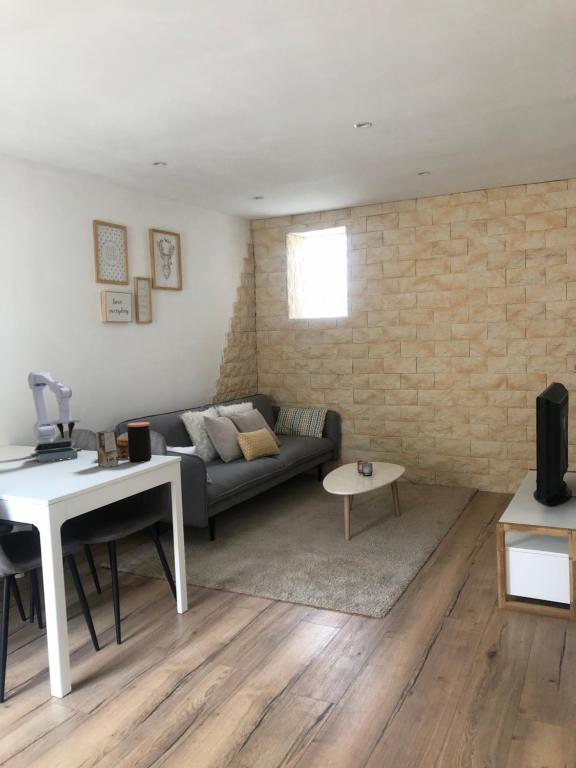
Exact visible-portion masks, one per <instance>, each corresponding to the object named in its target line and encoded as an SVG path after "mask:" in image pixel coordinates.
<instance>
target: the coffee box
mask: <svg viewBox="0 0 576 768" xmlns="http://www.w3.org/2000/svg"><path fill="white" fill-rule="evenodd" d="M117 433H118V432H117V431H116V430H108V429H107V430H100V431H96V432H95V438H96V441H95V442H96V452H97V453H96V454H97V465H100V466H99V467H102V466H104V468H111V467H110V466H112V467H117V466H116V465H118V466H119V459H118V450H117V438H118V436H117Z"/></svg>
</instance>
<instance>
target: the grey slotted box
mask: <svg viewBox="0 0 576 768" xmlns="http://www.w3.org/2000/svg"><path fill="white" fill-rule="evenodd" d="M79 452H82V448H80V447H77V448H74V447H73V446H72V447H67V448H58V449H51V450H42V451H34V452H33V453H30V454H29V455H30V457H31V458H35V460H36V459H37V460H38V461H39V463H40V462H43V463H47V462H46V461H51V462H54V461H53V460H59V461H61V460H60V459H67V460H69V459H68V458H75V459H78V458H77V457H78V453H79ZM37 460H36V461H37ZM38 461H37V462H38Z"/></svg>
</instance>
